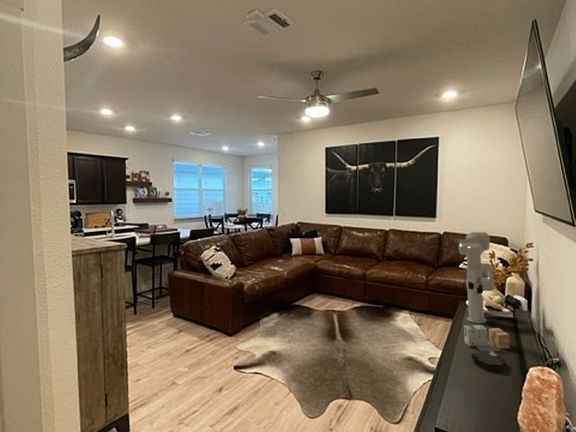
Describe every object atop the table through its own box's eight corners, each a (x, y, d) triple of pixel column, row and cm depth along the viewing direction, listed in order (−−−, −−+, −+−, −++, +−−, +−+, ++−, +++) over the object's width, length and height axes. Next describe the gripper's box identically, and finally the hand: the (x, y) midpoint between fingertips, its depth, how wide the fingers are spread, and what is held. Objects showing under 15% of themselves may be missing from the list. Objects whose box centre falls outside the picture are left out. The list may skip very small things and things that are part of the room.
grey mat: (468, 341, 201) (468, 341, 201) (486, 340, 201) (486, 340, 200) (481, 351, 187) (481, 351, 187) (500, 350, 187) (500, 350, 187)
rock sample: (512, 373, 163) (512, 364, 163) (478, 372, 166) (478, 363, 166) (497, 357, 180) (497, 348, 180) (467, 356, 183) (466, 347, 183)
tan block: (489, 341, 199) (488, 328, 199) (499, 340, 199) (498, 328, 199) (499, 348, 189) (498, 335, 189) (509, 348, 189) (509, 334, 189)
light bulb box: (481, 325, 199) (463, 325, 200) (487, 328, 192) (468, 328, 193) (482, 342, 199) (464, 342, 200) (488, 346, 192) (468, 346, 193)
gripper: (461, 262, 215) (462, 287, 216) (476, 268, 198) (477, 295, 199) (472, 261, 215) (473, 286, 216) (488, 267, 198) (489, 294, 199)
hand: (475, 291), depth 207 cm, fingers open, 9 cm apart
